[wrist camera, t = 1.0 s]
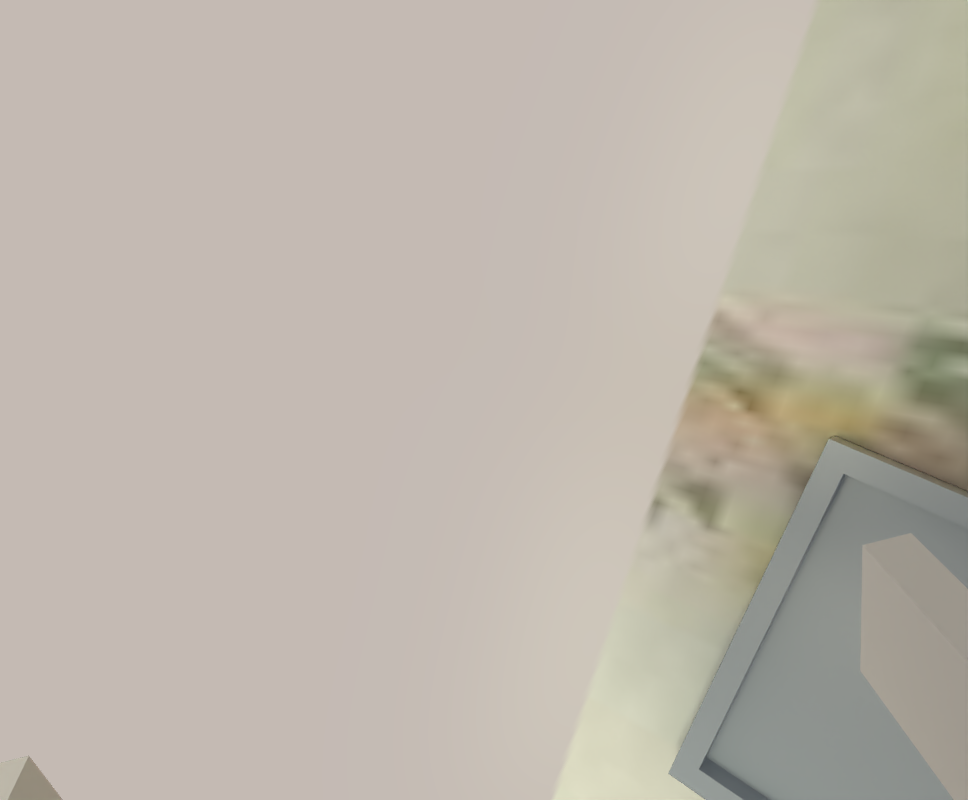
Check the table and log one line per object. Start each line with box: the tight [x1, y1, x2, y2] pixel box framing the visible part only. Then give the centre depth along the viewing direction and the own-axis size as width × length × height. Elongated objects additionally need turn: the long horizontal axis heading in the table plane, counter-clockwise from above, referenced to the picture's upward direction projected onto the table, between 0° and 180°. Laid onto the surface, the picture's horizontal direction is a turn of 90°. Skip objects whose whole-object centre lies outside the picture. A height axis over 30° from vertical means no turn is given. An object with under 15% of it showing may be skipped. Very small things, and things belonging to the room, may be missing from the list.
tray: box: [668, 436, 968, 800], centre depth 28 cm, size 16×16×2 cm
